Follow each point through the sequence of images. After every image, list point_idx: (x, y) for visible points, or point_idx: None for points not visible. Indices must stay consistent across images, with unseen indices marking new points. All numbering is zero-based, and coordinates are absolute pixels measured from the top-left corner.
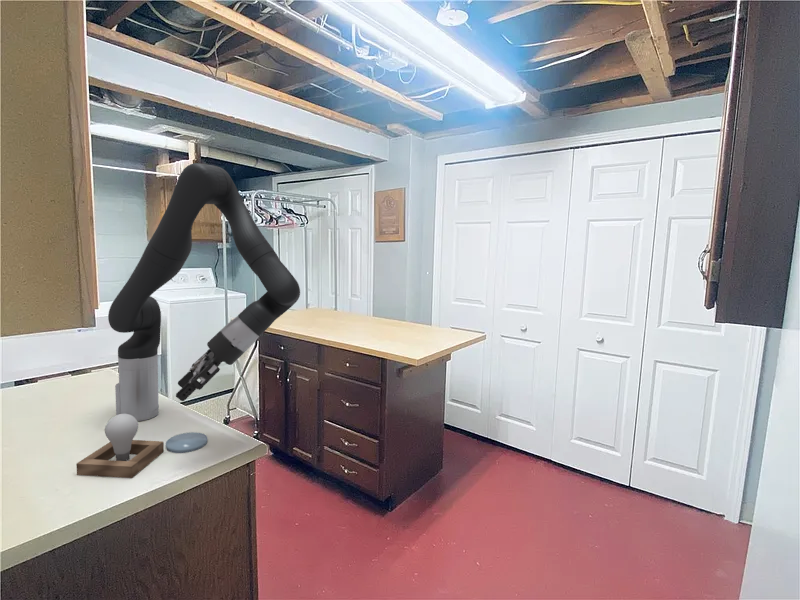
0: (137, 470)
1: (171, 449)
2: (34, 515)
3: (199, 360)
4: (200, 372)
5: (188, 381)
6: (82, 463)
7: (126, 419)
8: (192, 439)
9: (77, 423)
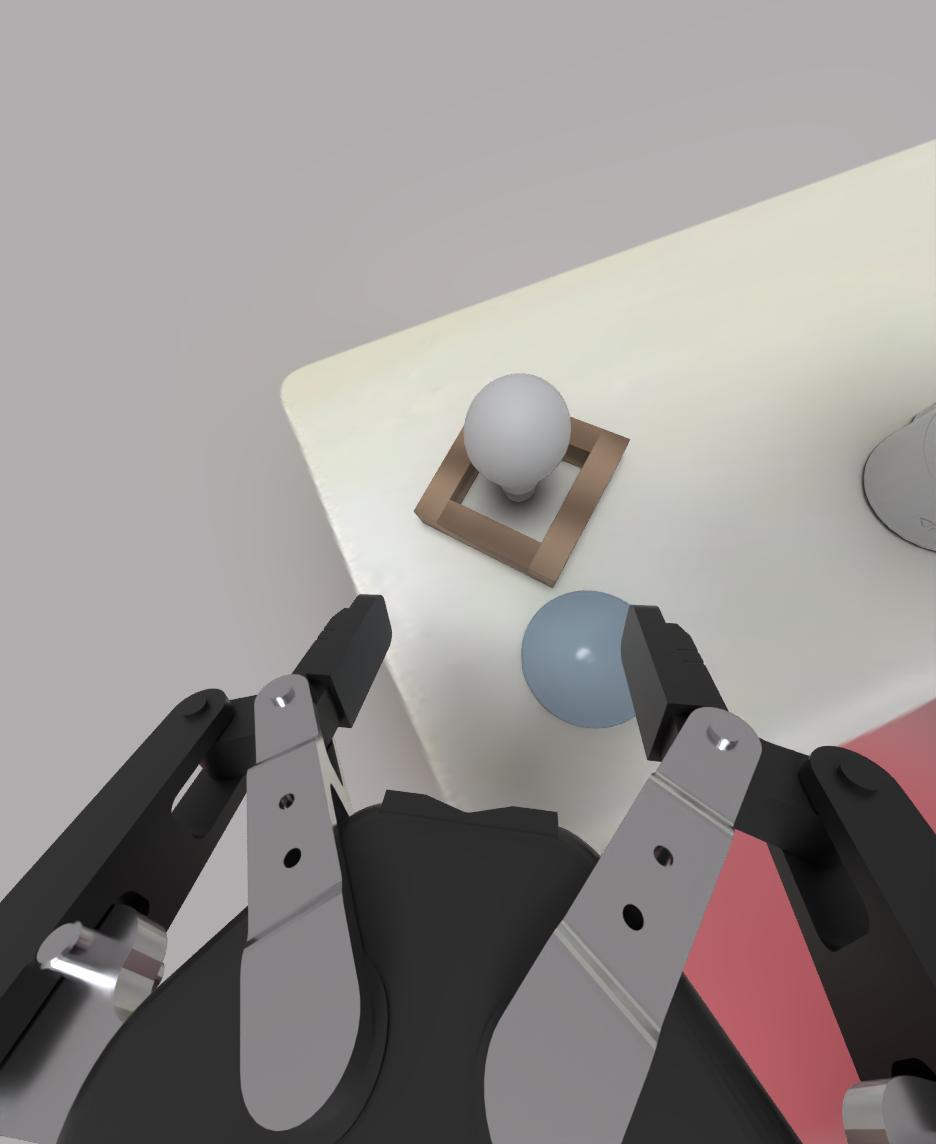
0: (439, 529)
1: (541, 608)
2: (352, 382)
3: (616, 910)
4: (126, 818)
5: (635, 684)
6: None
7: (485, 427)
8: (589, 675)
9: (890, 312)
